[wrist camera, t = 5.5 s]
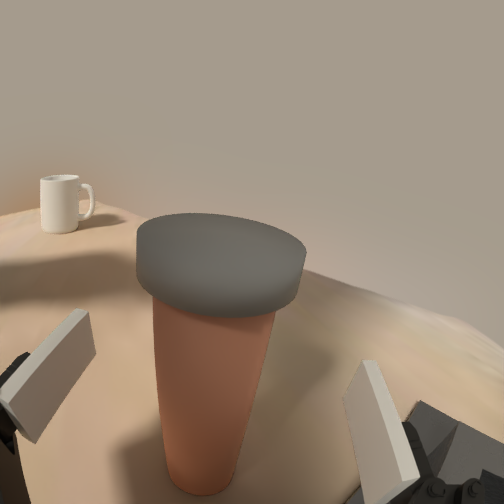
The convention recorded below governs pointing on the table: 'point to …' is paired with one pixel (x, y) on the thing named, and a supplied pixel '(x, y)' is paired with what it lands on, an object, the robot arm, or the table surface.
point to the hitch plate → (456, 453)
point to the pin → (212, 331)
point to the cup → (62, 203)
